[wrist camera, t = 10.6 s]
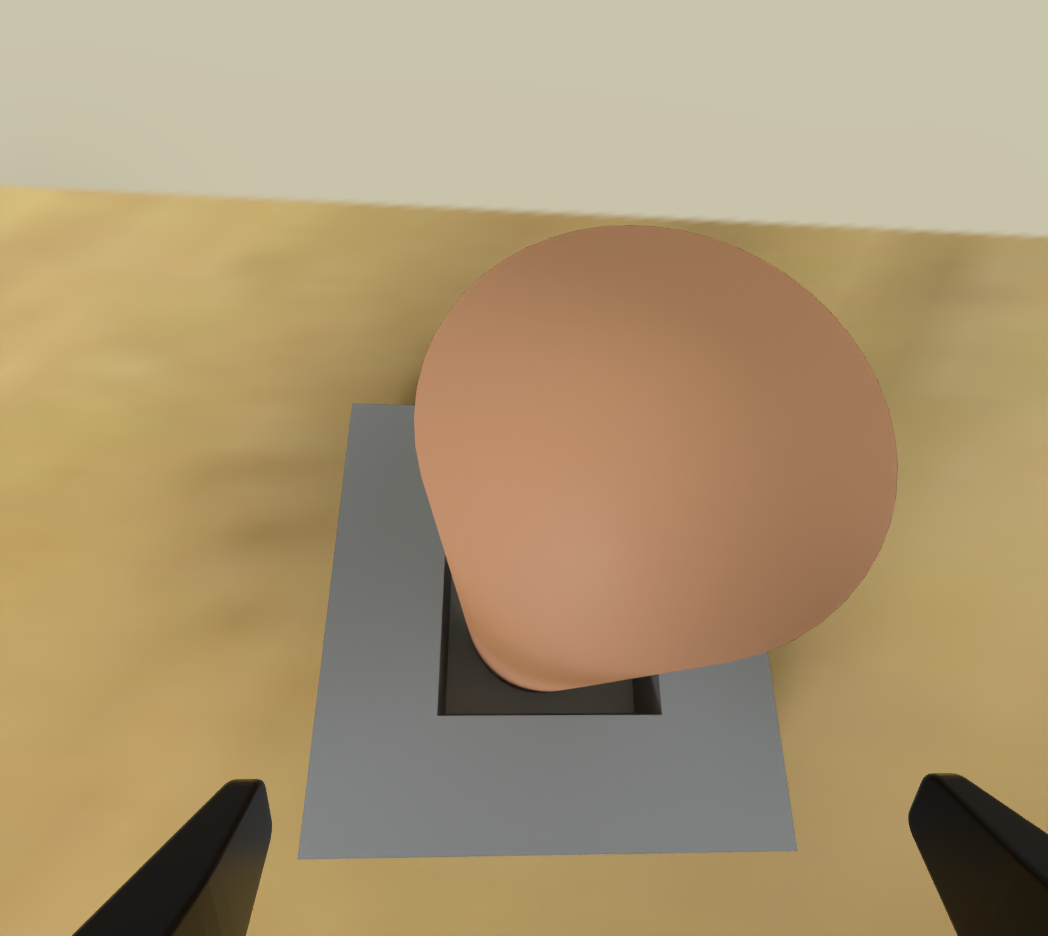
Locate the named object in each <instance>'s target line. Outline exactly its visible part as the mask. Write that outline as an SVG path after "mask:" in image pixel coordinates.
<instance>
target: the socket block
mask: <svg viewBox="0 0 1048 936" xmlns="http://www.w3.org/2000/svg"><path fill="white" fill-rule="evenodd" d="M414 410H415V405H388V404H352V410H351V419H350V427H349V435H348V444H347V452H346V460H345V469H344V477H343V485H342V494H341V502H340V510H339V519H338V527H337V535H336V544H335V552H334V560H333V569H332V577H331V585H330V594H329V602H328V610H327V619H326V627H325V635H324V644H323V652H322V660H321V669H320V677H319V685H318V694H317V702H316V710H315V719H314V727H313V735H312V744H311V752H310V760H309V769H308V777H307V785H306V794H305V802H304V810H303V819H302V827H301V835H300V844H299V852H298V859H348V858H408V857H468V856H528V855H588V854H648V853H708V852H768V851H797V845H796V838H795V831H794V825H793V818H792V811H791V805H790V798H789V791H788V785H787V778H786V771H785V765H784V758H783V751H782V745H781V738H780V731H779V725H778V718H777V712H776V705H775V698H774V692H773V685H772V678H771V672H770V665H769V658H768V652H765V653H762V654H759V655H755V656H751V657H748V658H744V659H740V660H736V661H733V662H729V663H723V664H717V665H711V666H705V667H699V668H693V669H687V670H681V671H675V672H669V673H663V674H657V675H651V676H645V677H639V678H633V679H627V680H621V681H615V682H609V683H603V684H597V685H591V686H585V687H579V688H573V689H567V690H561V691H555V692H548V693H532V692H526V691H522V690H519V689H516V688H514V687H511V686H509V685H507V684H505V683H504V682H502V681H501V680H499V679H498V678H497V677H496V676H494V675H493V674H492V673H491V672H490V671H489V670H488V669H487V668H486V666H485V665H484V664H483V662H482V661H481V659H480V658H479V656H478V654H477V652H476V650H475V648H474V645H473V642H472V639H471V636H470V633H469V629H468V626H467V623H466V620H465V616H464V613H463V610H462V607H461V603H460V600H459V597H458V594H457V591H456V587H455V584H454V581H453V578H452V574H451V571H450V568H449V565H448V561H447V558H446V555H445V552H444V549H443V545H442V542H441V539H440V536H439V532H438V529H437V526H436V523H435V519H434V516H433V513H432V510H431V506H430V503H429V500H428V497H427V494H426V490H425V487H424V484H423V481H422V477H421V473H420V468H419V463H418V458H417V452H416V447H415V430H414Z"/></svg>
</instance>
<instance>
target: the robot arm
mask: <svg viewBox="0 0 1048 936" xmlns="http://www.w3.org/2000/svg"><path fill="white" fill-rule="evenodd" d="M908 820H909V826H910V830H911V833H912V836H913V838H914V840H915V842H916V845H917V847H918V849H919V851H920V853H921V856H922V858H923V860H924V862H925V864H926V867H927V869H928V871H929V873H930V876H931V878H932V880H933V882H934V884H935V887H936V889H937V891H938V893H939V895H940V898H941V900H942V902H943V904H944V907H945V909H946V911H947V913H948V915H949V918H950V920H951V922H952V924H953V926H954V929H955V931H956V933H957V935H958V936H1048V834H1047V833H1045V832H1044V831H1042V830H1041V829H1040V828H1038V827H1037V826H1035V825H1034V824H1032V823H1031V822H1029V821H1028V820H1026V819H1025V818H1023V817H1022V816H1020V815H1019V814H1018V813H1016V812H1015V811H1013V810H1012V809H1010V808H1009V807H1007V806H1006V805H1004V804H1003V803H1001V802H1000V801H998V800H997V799H996V798H994V797H993V796H991V795H990V794H988V793H987V792H985V791H984V790H982V789H981V788H979V787H978V786H976V785H975V784H974V783H972V782H971V781H969V780H968V779H966V778H964V777H963V776H960V775H958V774H952V773H932V774H928V775H926V776H925V777H924V778H923V780H922V782H921V784H920V787H919V789H918V791H917V794H916V796H915V799H914V801H913V803H912V806H911V808H910V811H909V816H908ZM271 832H272V820H271V814H270V809H269V803H268V798H267V792H266V787H265V784H264V783H263V781H262V780H259V779H235V780H231V781H229V782H228V783H226V784H225V785H224V786H223V787H222V788H221V789H220V790H219V791H218V792H217V793H216V794H215V795H214V796H213V797H212V798H211V799H210V800H209V801H208V802H207V803H206V804H205V805H204V806H203V807H202V808H201V809H199V810H198V811H197V812H196V813H195V814H194V815H193V816H192V817H191V818H190V819H189V820H188V821H187V822H186V823H185V824H184V825H183V826H182V827H181V828H180V829H179V830H178V831H177V832H176V833H175V834H174V835H173V836H172V837H171V838H170V839H169V840H168V841H167V842H166V843H165V844H164V845H163V846H162V847H161V848H160V849H159V850H158V851H157V852H156V853H155V854H154V855H153V856H152V857H151V858H150V859H149V860H148V861H147V862H146V863H145V864H144V865H143V866H142V867H141V868H140V869H139V870H138V871H137V872H136V873H135V874H134V875H133V876H132V877H131V878H130V879H129V880H128V881H127V882H126V883H125V884H124V885H123V886H122V887H121V888H120V889H119V890H117V891H116V892H115V893H114V894H113V895H112V896H111V897H110V898H109V899H108V900H107V901H106V902H105V903H104V904H103V905H102V906H101V907H100V908H99V909H98V910H97V911H96V912H95V913H94V914H93V915H92V916H91V917H90V918H89V919H88V920H87V921H86V922H85V923H84V924H83V925H82V926H81V927H80V928H79V929H78V930H77V931H76V932H75V933H74V934H73V935H72V936H246V933H247V929H248V925H249V921H250V917H251V913H252V909H253V905H254V902H255V898H256V894H257V890H258V886H259V882H260V878H261V874H262V871H263V867H264V863H265V859H266V855H267V851H268V847H269V843H270V839H271Z"/></svg>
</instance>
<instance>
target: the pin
mask: <svg viewBox="0 0 1048 936" xmlns="http://www.w3.org/2000/svg"><path fill="white" fill-rule="evenodd" d="M414 430H415V447H416V452H417V458H418V463H419V468H420V473H421V477H422V481H423V484H424V487H425V490H426V494H427V497H428V500H429V503H430V506H431V510H432V513H433V516H434V519H435V523H436V526H437V529H438V532H439V536H440V539H441V542H442V545H443V549H444V552H445V555H446V558H447V561H448V565H449V568H450V571H451V574H452V578H453V581H454V584H455V587H456V591H457V594H458V597H459V600H460V603H461V607H462V610H463V613H464V616H465V620H466V623H467V626H468V629H469V633H470V636H471V639H472V642H473V645H474V648H475V650H476V652H477V654H478V656H479V658H480V659H481V661H482V662H483V664H484V665H485V666H486V668H487V669H488V670H489V671H490V672H491V673H492V674H493V675H494V676H496V677H497V678H498V679H499V680H501V681H502V682H504V683H505V684H507V685H509V686H511V687H514V688H516V689H519V690H522V691H526V692H532V693H548V692H555V691H561V690H567V689H573V688H579V687H585V686H591V685H597V684H603V683H609V682H615V681H621V680H627V679H633V678H639V677H645V676H651V675H657V674H663V673H669V672H675V671H681V670H687V669H693V668H699V667H705V666H711V665H717V664H723V663H729V662H733V661H736V660H740V659H744V658H748V657H751V656H755V655H759V654H762V653H765V652H767V651H770V650H772V649H774V648H777V647H779V646H781V645H783V644H786V643H788V642H790V641H793V640H795V639H796V638H798V637H799V636H801V635H803V634H804V633H806V632H807V631H809V630H810V629H812V628H813V627H815V626H817V625H818V624H820V623H821V622H823V621H824V620H825V619H826V618H827V617H828V616H829V615H831V614H832V613H833V612H834V611H835V610H836V609H837V608H838V607H839V606H841V605H842V604H843V603H844V602H845V601H846V600H847V599H848V598H849V596H850V595H851V594H852V593H853V591H854V590H855V589H856V588H857V586H858V585H859V584H860V583H861V581H862V580H863V579H864V578H865V576H866V575H867V573H868V571H869V569H870V568H871V566H872V564H873V562H874V561H875V559H876V557H877V555H878V554H879V552H880V550H881V547H882V544H883V542H884V539H885V536H886V534H887V531H888V528H889V526H890V523H891V518H892V513H893V508H894V503H895V498H896V491H897V470H898V463H897V452H896V442H895V435H894V430H893V426H892V422H891V418H890V413H889V409H888V406H887V404H886V401H885V398H884V396H883V393H882V390H881V388H880V385H879V383H878V380H877V379H876V377H875V375H874V373H873V371H872V369H871V367H870V365H869V363H868V361H867V359H866V358H865V356H864V354H863V353H862V351H861V350H860V349H859V347H858V346H857V344H856V343H855V341H854V340H853V338H852V337H851V335H850V334H849V333H848V331H847V330H846V329H845V328H844V327H843V326H842V324H841V323H840V322H839V321H838V320H837V319H836V317H835V316H834V315H833V314H832V313H831V312H830V311H829V310H828V309H827V308H826V307H825V306H824V305H823V304H822V303H821V302H820V301H819V300H818V299H817V298H815V297H814V296H813V295H812V294H811V293H810V292H809V291H808V290H806V289H805V288H804V287H802V286H801V285H800V284H799V283H797V282H796V281H795V280H793V279H792V278H791V277H789V276H788V275H787V274H785V273H783V272H782V271H780V270H778V269H777V268H775V267H774V266H772V265H770V264H769V263H767V262H765V261H764V260H762V259H760V258H758V257H756V256H754V255H752V254H750V253H748V252H746V251H743V250H741V249H739V248H737V247H734V246H732V245H729V244H726V243H724V242H721V241H718V240H715V239H713V238H710V237H706V236H702V235H698V234H694V233H690V232H687V231H681V230H675V229H669V228H662V227H653V226H635V225H625V226H604V227H597V228H591V229H584V230H578V231H574V232H570V233H566V234H563V235H559V236H555V237H552V238H549V239H547V240H544V241H542V242H539V243H537V244H534V245H532V246H529V247H527V248H525V249H523V250H521V251H519V252H518V253H516V254H514V255H512V256H510V257H508V258H507V259H505V260H503V261H502V262H500V263H499V264H498V265H496V266H495V267H493V268H492V269H491V270H489V271H488V272H487V273H485V274H484V275H483V276H482V277H480V278H479V279H478V280H477V281H476V282H475V283H474V284H473V285H472V286H471V287H470V288H469V289H468V290H467V291H466V292H464V294H463V295H462V296H461V297H460V299H459V300H458V301H457V302H456V304H455V305H454V306H453V307H452V308H451V310H450V311H449V312H448V313H447V315H446V317H445V318H444V320H443V322H442V323H441V325H440V327H439V328H438V330H437V332H436V333H435V335H434V337H433V340H432V342H431V344H430V347H429V349H428V352H427V354H426V356H425V359H424V361H423V365H422V369H421V373H420V377H419V381H418V385H417V390H416V400H415V410H414Z"/></svg>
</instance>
